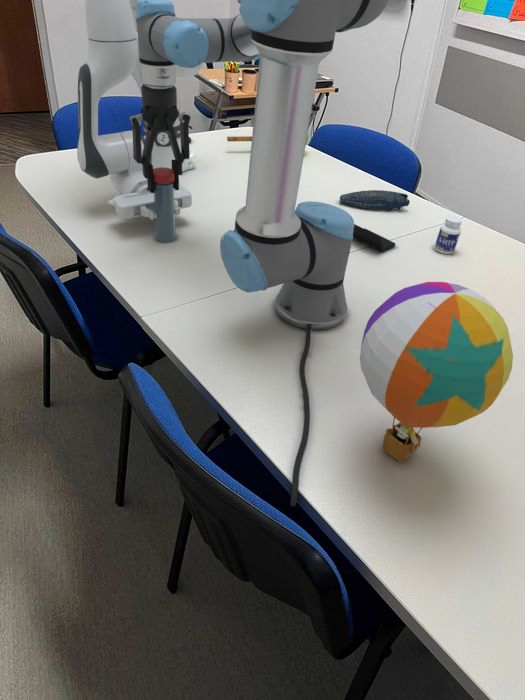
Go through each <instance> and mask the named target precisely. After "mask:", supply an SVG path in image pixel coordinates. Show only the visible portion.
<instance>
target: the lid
mask: <svg viewBox="0 0 525 700" xmlns="http://www.w3.org/2000/svg"><path fill="white" fill-rule="evenodd" d="M153 176H154V182H155V183H159V184H168V183H172V182H174V180H175V172H174V170H173V169H170V168H165V167H159V168H154V169H153Z"/></svg>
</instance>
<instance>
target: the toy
mask: <svg viewBox="0 0 525 700" xmlns="http://www.w3.org/2000/svg"><path fill="white" fill-rule="evenodd" d="M510 336H511V335H510V332H509V327H508V325H507V323H506V321H505V319H504V317H503V316H502V315H501V314H500V312H499V311H498V310H497V309H496V307H494V305H493V304H492V303H491V302H490V301H489V300H488V299H487V298H485V297H484V296H482V295H481V294H479V293H478V292H476V291H475V290H473V289H470V288H468V287H465V286H463V285H460V284H457V283H451V282H446V281H425V282H421V283H417V284H414V285H409V286H407V287H404V288H402V289H399V290H398V291H396V292H395V293H393V294H392V295H391V296H390V297H388V298H387V299H386V300H385V301H384V302H383V303H381V305H380V306H378V307H377V308H375V310H374V311H373V313H372V314H371V315H370V317H369V318H368V319H367V322H366V325H365V328H364V331H363V336H362V340H361V344H360V353H359V363H360V369H361V371H362V374H363V377H364V379H365V381H366V384H367V387H368V388H369V390H370V393H371V395H372V396H374V398H375V399H376V400H377V401H378V402H379V404H380V405H381V406H382V407H383V408H384V409H385V410H386V411H388V413H389V414H390V415H391V416H392V417H393V421H392V426H391V428H386V430H385V433H384V437H383V440H382V449H383V450H384V451H385V452H386V453H387V454H389V456H391V457H392V458H393V459H395V460H396V461H397V462H399V463H403V462H405V460H407V459H408V458H409V457H410V456H411V455H413V454H414V453H415V452H416V450H417V449H418V448H420V447H421V441H422V436H421V435H420V434H419V433H420V432H421V431H422V430H423V429H424V428H425V429H428V428H443V427H452V426H457V425H459V424H461V423H463V422H466V421H468V420H470V419H472V418H474V417H477V416H479V415H480V414H481V415H482V414H483V413H484V412H486V411H487V410H489V408H490V407H491V406H492V405H494V403H495V401H496V400H497V398H498V397H499V395H500V393H501V392H502V390H503V388H504V387H505V386H506V384H507V383H508V381H509V378H510V376H511V372H512V370H513V359H514V353H513V347H512V342H511V337H510ZM395 420H397V421H398V422H399V423H397V424H395ZM415 428H417V429H419V428H420V429H419V430H418V431H417V432H416V430H415Z"/></svg>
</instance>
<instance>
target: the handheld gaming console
mask: <svg viewBox="0 0 525 700" xmlns="http://www.w3.org/2000/svg"><path fill="white" fill-rule="evenodd" d="M353 239H355V240H357V241H359V242H361V243H363V244H366V245H368V246H369V247H370V248H372V249H374V250H377V251H379V252H381V253H384V252H386V251H388V250H390V249H392V248H394V247H396V242H394V241H391V239H388V238H386V237H384V236H382V235H380V234H378V233H376V232H374V231H371V230H369V229H367V228H363V227H361V226H359V225H357V224H355V223H354V229H353Z"/></svg>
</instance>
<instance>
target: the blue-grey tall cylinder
mask: <svg viewBox="0 0 525 700" xmlns="http://www.w3.org/2000/svg"><path fill="white" fill-rule="evenodd" d="M154 210H155V211H156V212H157V219H154V225H155V226H154V227H155V239H156V240H157V241H159V242H160V243H161V242H162V243H170V242H173V241H175V240H176V215H175V209H174V182H172V183H168V184H159V183H155V182H154Z"/></svg>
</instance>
